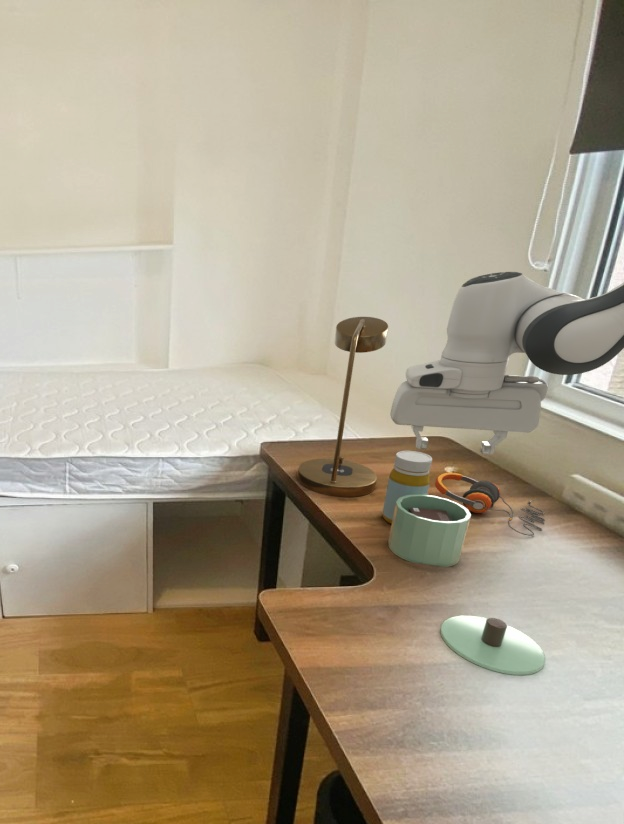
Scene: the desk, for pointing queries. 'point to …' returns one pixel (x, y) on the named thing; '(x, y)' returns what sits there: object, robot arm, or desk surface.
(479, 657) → the lid
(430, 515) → the box
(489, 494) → the headphones
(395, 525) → the canister
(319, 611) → the desk surface
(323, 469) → the lamp
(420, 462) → the bottle
